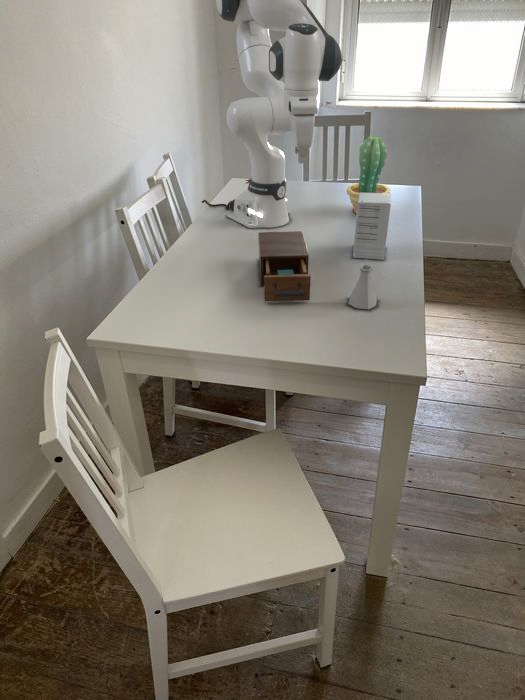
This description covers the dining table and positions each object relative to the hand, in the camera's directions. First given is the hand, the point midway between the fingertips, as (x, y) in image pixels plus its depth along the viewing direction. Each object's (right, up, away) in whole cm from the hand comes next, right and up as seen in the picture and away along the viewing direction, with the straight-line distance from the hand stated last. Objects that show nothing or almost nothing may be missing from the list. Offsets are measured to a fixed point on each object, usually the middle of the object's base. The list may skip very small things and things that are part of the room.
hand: (299, 158), depth 139 cm
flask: (+15, -39, -5) cm, 42 cm away
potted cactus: (+27, -1, +50) cm, 57 cm away
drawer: (-4, -36, -2) cm, 36 cm away
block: (-4, -34, -2) cm, 35 cm away
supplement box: (+22, -22, +20) cm, 37 cm away
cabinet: (-4, -29, +10) cm, 30 cm away
